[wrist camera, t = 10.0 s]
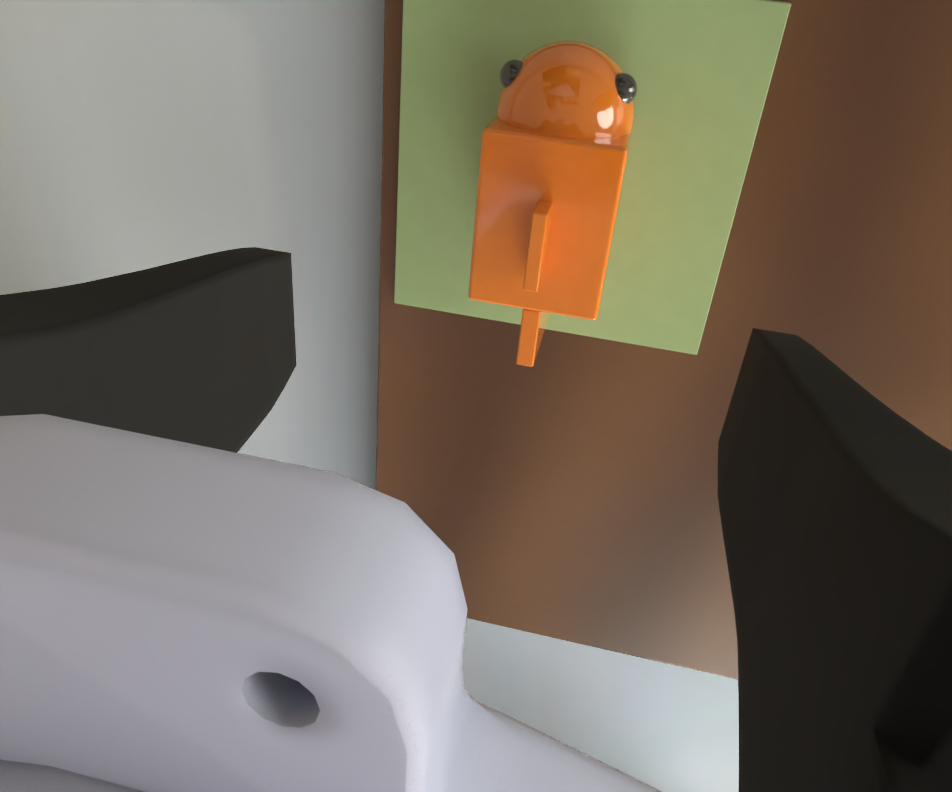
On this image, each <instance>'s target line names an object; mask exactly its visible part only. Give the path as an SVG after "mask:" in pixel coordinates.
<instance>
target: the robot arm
mask: <svg viewBox="0 0 952 792" xmlns="http://www.w3.org/2000/svg"><path fill="white" fill-rule="evenodd" d="M295 367H296V350H295V329H294V308H293V287H292V267H291V253H287V252H280V251H274V250H268V249H262V248H256V247H254V248H240V249H233V250H227V251H222V252H217V253H212V254H208V255H204V256H199V257H195V258H191V259H187V260H183V261H179V262H175V263H170V264H166V265H162V266H158V267H154V268H150V269H146V270H142V271H137V272H132V273H128V274H123V275H118V276H114V277H109V278H104V279H100V280H95V281H91V282H86V283H81V284H75V285H70V286H64V287H58V288H51V289H45V290H37V291H30V292H22V293H15V294H6V295H0V792H661V791H659V790H657V789H655V788H653V787H651V786H649V785H647V784H645V783H643V782H641V781H639V780H637V779H635V778H633V777H631V776H629V775H627V774H625V773H623V772H621V771H619V770H617V769H614V768H612V767H610V766H608V765H606V764H604V763H602V762H600V761H598V760H596V759H594V758H592V757H590V756H588V755H586V754H584V753H582V752H580V751H578V750H576V749H574V748H572V747H570V746H568V745H566V744H564V743H562V742H560V741H558V740H556V739H554V738H552V737H549V736H547V735H545V734H543V733H541V732H539V731H537V730H535V729H533V728H531V727H529V726H527V725H525V724H523V723H521V722H519V721H517V720H515V719H513V718H511V717H509V716H507V715H505V714H503V713H501V712H499V711H497V710H495V709H493V708H491V707H489V706H487V705H485V704H482V703H480V702H478V701H476V700H475V699H474V698H473V697H472V696H471V695H470V694H469V693H468V692H467V690H466V688H465V686H464V680H463V668H462V656H463V647H464V637H465V628H466V619H467V609H468V608H467V604H466V600H465V596H464V592H463V588H462V584H461V580H460V576H459V572H458V567H457V563H456V559H455V555H454V553H453V552H452V551H451V550H450V549H449V548H448V547H447V546H446V545H445V544H444V543H443V542H442V541H441V540H440V539H439V537H438V536H437V535H436V534H435V533H434V532H433V531H432V530H431V529H430V528H429V527H428V526H427V525H426V524H425V523H424V522H423V521H422V520H421V519H420V518H419V517H418V516H417V514H416V513H415V512H414V511H413V510H412V509H411V508H410V507H409V506H408V505H407V504H406V503H405V502H403V501H400V500H398V499H395V498H393V497H391V496H388V495H386V494H384V493H381V492H379V491H377V490H374V489H372V488H370V487H367V486H365V485H362V484H360V483H358V482H355V481H353V480H351V479H348V478H346V477H344V476H341V475H339V474H336V473H334V472H329V471H324V470H319V469H314V468H309V467H304V466H299V465H294V464H289V463H284V462H279V461H274V460H269V459H264V458H259V457H254V456H249V455H244V454H239V453H237V452H238V451H239V450H240V448H241V447H242V446H243V445H244V443H245V442H246V441H247V440H248V438H249V437H250V436H251V435H252V433H253V432H254V431H255V430H256V428H257V427H258V426H259V425H260V423H261V422H262V421H263V420H264V418H265V417H266V416H267V414H268V413H269V412H270V411H271V409H272V408H273V406H274V404H275V402H276V401H277V399H278V397H279V396H280V394H281V392H282V391H283V389H284V387H285V385H286V383H287V381H288V380H289V378H290V376H291V374H292V372H293V370H294V368H295ZM718 502H719V510H720V517H721V524H722V531H723V538H724V545H725V552H726V559H727V565H728V572H729V579H730V585H731V592H732V599H733V606H734V612H735V622H736V632H737V645H738V687H739V792H952V451H951V450H949V449H948V448H946V447H945V446H943V445H941V444H940V443H938V442H937V441H935V440H934V439H932V438H931V437H929V436H928V435H926V434H925V433H923V432H922V431H921V430H919V429H918V428H916V427H915V426H914V425H912V424H911V423H909V422H908V421H907V420H905V419H904V418H902V417H901V416H900V415H898V414H897V413H895V412H894V411H893V410H891V409H890V408H889V407H887V406H886V405H885V404H884V403H882V402H881V401H880V400H878V399H877V398H876V397H874V396H873V395H872V394H871V393H869V392H868V391H867V390H866V389H864V388H863V387H862V386H861V385H860V384H858V383H857V382H856V381H855V380H853V379H852V378H851V377H850V376H849V375H847V374H846V373H845V372H844V371H843V370H841V369H840V368H839V367H838V366H837V365H835V364H834V363H833V362H832V361H831V360H830V359H828V358H827V357H826V356H825V355H823V354H822V353H821V352H820V351H819V350H817V349H816V348H815V347H813V346H812V345H811V344H810V343H808V342H807V341H805V340H804V339H802V338H801V337H799V336H797V335H793V334H787V333H781V332H775V331H769V330H763V329H756V328H753V329H752V332H751V336H750V339H749V342H748V346H747V349H746V352H745V355H744V359H743V362H742V365H741V369H740V372H739V375H738V379H737V382H736V385H735V389H734V392H733V395H732V398H731V402H730V405H729V408H728V412H727V415H726V418H725V422H724V425H723V428H722V432H721V435H720V438H719V442H718Z"/></svg>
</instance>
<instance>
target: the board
mask: <svg viewBox="0 0 952 792" xmlns="http://www.w3.org/2000/svg"><path fill="white" fill-rule="evenodd" d="M772 1H781V2H790V3H791V7H790V11H789V15H788V18H787V22H786V26H785V29H784V33H783V37H782V41H781V44H780V48H779V52H778V56H777V59H776V63H775V67H774V70H773V74H772V78H771V82H770V85H769V89H768V93H767V96H766V100H765V104H764V108H763V111H762V115H761V119H760V122H759V126H758V130H757V134H756V137H755V141H754V145H753V148H752V152H751V156H750V160H749V163H748V167H747V171H746V174H745V178H744V182H743V186H742V189H741V193H740V197H739V201H738V204H737V208H736V212H735V215H734V219H733V223H732V227H731V230H730V234H729V238H728V241H727V245H726V249H725V253H724V256H723V260H722V264H721V267H720V271H719V275H718V279H717V282H716V286H715V290H714V293H713V297H712V301H711V305H710V308H709V312H708V316H707V320H706V323H705V327H704V331H703V334H702V338H701V342H700V346H699V349H698V353H697V355H694V354H688V353H682V352H677V351H671V350H665V349H659V348H653V347H648V346H642V345H636V344H630V343H624V342H618V341H613V340H607V339H601V338H595V337H589V336H584V335H578V334H572V333H566V332H560V331H554V330H549V329H545V331H544V334H543V337H542V340H541V343H540V346H539V350H538V353H537V356H536V359H535V362H534V365H533V367H529V366H523V365H518V364H516V358H517V350H518V342H519V334H520V326H521V325H519V324H514V323H508V322H502V321H496V320H490V319H485V318H479V317H473V316H467V315H461V314H455V313H450V312H444V311H438V310H432V309H426V308H421V307H415V306H409V305H403V304H397V303H394V294H395V261H396V227H397V193H398V160H399V126H400V92H401V59H402V25H403V0H385V19H384V74H383V128H382V182H381V237H380V291H379V345H378V400H377V454H376V490H377V491H379V492H381V493H384V494H386V495H388V496H391V497H393V498H395V499H398V500H400V501H403V502H405V503H406V504H407V505H408V506H409V507H410V508H411V509H412V510H413V511H414V512H415V513H416V514H417V516H418V517H419V518H420V519H421V520H422V521H423V522H424V523H425V524H426V525H427V526H428V527H429V528H430V529H431V530H432V531H433V532H434V533H435V534H436V535H437V536H438V537H439V539H440V540H441V541H442V542H443V543H444V544H445V545H446V546H447V547H448V548H449V549H450V550H451V551H452V552H453V553H454V555H455V559H456V563H457V567H458V572H459V576H460V580H461V584H462V588H463V592H464V596H465V600H466V604H467V608H468V609H467V618H469V619H474V620H478V621H482V622H487V623H491V624H496V625H500V626H504V627H509V628H513V629H518V630H522V631H526V632H531V633H535V634H540V635H544V636H549V637H553V638H557V639H562V640H566V641H571V642H575V643H579V644H584V645H588V646H593V647H597V648H601V649H606V650H610V651H615V652H619V653H623V654H628V655H632V656H637V657H641V658H645V659H650V660H654V661H659V662H663V663H667V664H672V665H676V666H681V667H685V668H689V669H694V670H698V671H703V672H707V673H711V674H716V675H720V676H725V677H729V678H733V679H738V645H737V632H736V622H735V612H734V606H733V599H732V592H731V585H730V579H729V572H728V565H727V559H726V552H725V545H724V538H723V531H722V524H721V517H720V510H719V502H718V442H719V438H720V435H721V432H722V428H723V425H724V422H725V418H726V415H727V412H728V408H729V405H730V402H731V398H732V395H733V392H734V389H735V385H736V382H737V379H738V375H739V372H740V369H741V365H742V362H743V359H744V355H745V352H746V349H747V346H748V342H749V339H750V336H751V332H752V329H753V328H756V329H763V330H769V331H775V332H781V333H787V334H793V335H797V336H799V337H801V338H802V339H804V340H805V341H807V342H808V343H810V344H811V345H812V346H813V347H815V348H816V349H817V350H819V351H820V352H821V353H822V354H823V355H825V356H826V357H827V358H828V359H830V360H831V361H832V362H833V363H834V364H835V365H837V366H838V367H839V368H840V369H841V370H843V371H844V372H845V373H846V374H847V375H849V376H850V377H851V378H852V379H853V380H855V381H856V382H857V383H858V384H860V385H861V386H862V387H863V388H864V389H866V390H867V391H868V392H869V393H871V394H872V395H873V396H874V397H876V398H877V399H878V400H880V401H881V402H882V403H884V404H885V405H886V406H887V407H889V408H890V409H891V410H893V411H894V412H895V413H897V414H898V415H900V416H901V417H902V418H904V419H905V420H907V421H908V422H909V423H911V424H912V425H914V426H915V427H916V428H918V429H919V430H921V431H922V432H923V433H925V434H926V435H928V436H929V437H931V438H932V439H934V440H935V441H937V442H938V443H940V444H941V445H943V446H945V447H946V448H948V449H949V450H951V451H952V0H772Z"/></svg>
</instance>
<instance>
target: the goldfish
mask: <svg viewBox="0 0 952 792" xmlns="http://www.w3.org/2000/svg"><path fill="white" fill-rule="evenodd" d="M500 82H501V84H502V89H501V91H500V95H499V98H498V103H497V114H496V117H495V118H494V119H493V120H492V121H491V122H490V123H489V124H488V125H487V126H486V127H485V128H484V129H483V131H482V139H481V150H480V162H479V174H478V186H477V197H476V209H475V221H474V233H473V245H472V256H471V268H470V280H469V292H468V296H469V299H471V300H475V301H481V302H487V303H493V304H499V305H505V306H511V307H517V308H523V310H522V318H521V326H520V334H519V342H518V350H517V358H516V364H518V365H523V366H529V367H533V365H534V362H535V359H536V356H537V353H538V350H539V346H540V343H541V340H542V337H543V334H544V331H545V327H546V324H547V321H548V318H549V313H553V314H559V315H564V316H570V317H576V318H582V319H588V320H596V319H597V317H598V313H599V308H600V303H601V297H602V292H603V287H604V281H605V276H606V271H607V266H608V260H609V255H610V249H611V244H612V239H613V233H614V228H615V222H616V217H617V212H618V206H619V201H620V195H621V190H622V185H623V179H624V174H625V169H626V163H627V158H628V152H629V147H630V142H631V136H632V131H633V125H634V116H635V106H634V98H635V96H636V93H637V83H636V81H635V79H634V78H633V77H632V76H631V75H630V74H627V73H624V71H623V70H622V68H621V67H620V66H619V64H618V63H617V62H616V61H615V60H614V59H613V58H612V57H611V56H610V55H608V54H607V53H606V52H604V51H603V50H601V49H599V48H597V47H596V46H594V45H591V44H588V43H585V42H580V41H569V40H566V41H557V42H553V43H548V44H546V45H543V46H541V47H538V48H537V49H535V50H533V51H531V52H530V53H528V54H527V55H526V56H524V57H523V58H522V59H521V60H517V59H513V60H510V61H508V62H506V63H505V64H504V65H503V66H502V68H501V71H500Z"/></svg>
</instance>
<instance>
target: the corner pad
mask: <svg viewBox="0 0 952 792" xmlns="http://www.w3.org/2000/svg"><path fill="white" fill-rule="evenodd" d="M790 7H791V3H790V2H781V1H772V0H403V25H402V59H401V92H400V126H399V160H398V193H397V227H396V261H395V294H394V303H397V304H403V305H409V306H415V307H421V308H426V309H432V310H438V311H444V312H450V313H455V314H461V315H467V316H473V317H479V318H485V319H490V320H496V321H502V322H508V323H514V324H519V325H521V318H522V310H523V308H517V307H511V306H505V305H499V304H493V303H487V302H481V301H475V300H471V299H469V296H468V292H469V280H470V268H471V256H472V245H473V233H474V221H475V209H476V197H477V186H478V174H479V162H480V150H481V139H482V131H483V129H484V128H485V127H486V126H487V125H488V124H489V123H490V122H491V121H492V120H493V119H494V118H495V117H496V114H497V103H498V98H499V95H500V91H501V89H502V84H501V82H500V71H501V68H502V66H503V65H504V64H505V63H506V62H508V61H510V60H513V59H517V60H521V59H522V58H523V57H524V56H526V55H527V54H528V53H530V52H531V51H533V50H535V49H537V48H538V47H541V46H543V45H546V44H548V43H553V42H557V41H566V40H569V41H580V42H585V43H588V44H591V45H594V46H596V47H597V48H599V49H601V50H603V51H604V52H606V53H607V54H608V55H610V56H611V57H612V58H613V59H614V60H615V61H616V62H617V63H618V64H619V66H620V67H621V68H622V70H623V71H624V73H627V74H630V75H631V76H632V77H633V78H634V79H635V81H636V83H637V93H636V96H635V98H634V106H635V116H634V125H633V131H632V136H631V142H630V147H629V152H628V158H627V163H626V169H625V174H624V179H623V185H622V190H621V195H620V201H619V206H618V212H617V217H616V222H615V228H614V233H613V239H612V244H611V249H610V255H609V260H608V266H607V271H606V276H605V281H604V287H603V292H602V297H601V303H600V308H599V313H598V317H597V319H596V320H588V319H582V318H576V317H570V316H564V315H559V314H553V313H549V318H548V321H547V324H546V327H545V329H549V330H554V331H560V332H566V333H572V334H578V335H584V336H589V337H595V338H601V339H607V340H613V341H618V342H624V343H630V344H636V345H642V346H648V347H653V348H659V349H665V350H671V351H677V352H682V353H688V354H694V355H697V353H698V349H699V346H700V342H701V338H702V334H703V331H704V327H705V323H706V320H707V316H708V312H709V308H710V305H711V301H712V297H713V293H714V290H715V286H716V282H717V279H718V275H719V271H720V267H721V264H722V260H723V256H724V253H725V249H726V245H727V241H728V238H729V234H730V230H731V227H732V223H733V219H734V215H735V212H736V208H737V204H738V201H739V197H740V193H741V189H742V186H743V182H744V178H745V174H746V171H747V167H748V163H749V160H750V156H751V152H752V148H753V145H754V141H755V137H756V134H757V130H758V126H759V122H760V119H761V115H762V111H763V108H764V104H765V100H766V96H767V93H768V89H769V85H770V82H771V78H772V74H773V70H774V67H775V63H776V59H777V56H778V52H779V48H780V44H781V41H782V37H783V33H784V29H785V26H786V22H787V18H788V15H789V11H790Z"/></svg>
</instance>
